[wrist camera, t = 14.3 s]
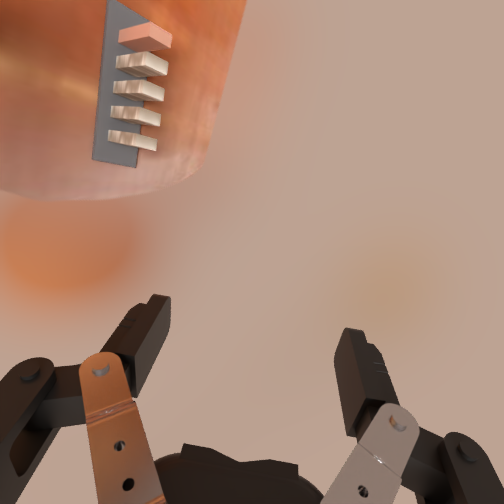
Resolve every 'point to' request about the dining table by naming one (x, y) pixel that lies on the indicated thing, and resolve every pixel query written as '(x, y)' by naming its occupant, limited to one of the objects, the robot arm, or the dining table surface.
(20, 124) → the dining table surface
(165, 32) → the end domino
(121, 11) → the domino board
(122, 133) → the domino
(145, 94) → the domino
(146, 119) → the domino
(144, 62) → the domino
